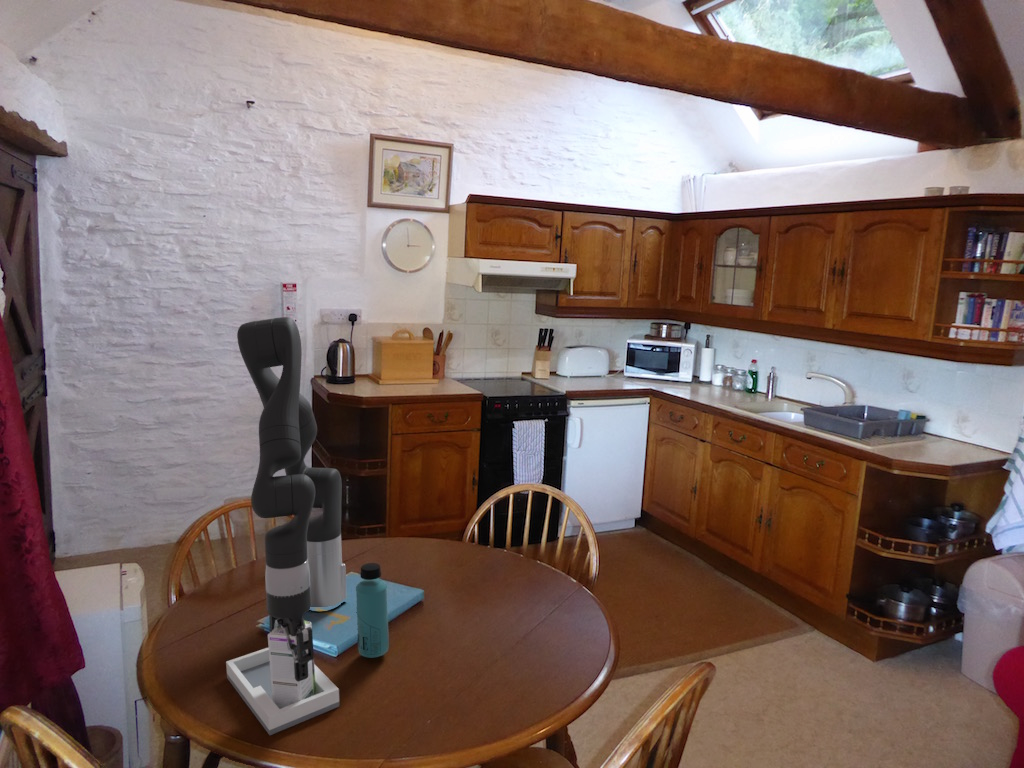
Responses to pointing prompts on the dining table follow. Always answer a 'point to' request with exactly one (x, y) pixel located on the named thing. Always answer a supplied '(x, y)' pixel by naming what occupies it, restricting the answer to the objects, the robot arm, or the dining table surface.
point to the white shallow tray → (256, 691)
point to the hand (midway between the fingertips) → (292, 668)
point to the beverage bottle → (372, 612)
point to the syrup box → (287, 671)
